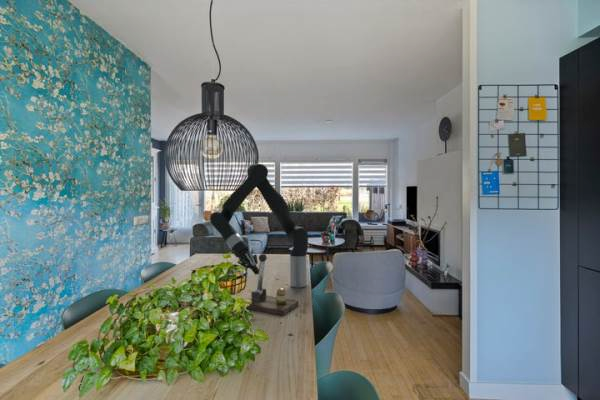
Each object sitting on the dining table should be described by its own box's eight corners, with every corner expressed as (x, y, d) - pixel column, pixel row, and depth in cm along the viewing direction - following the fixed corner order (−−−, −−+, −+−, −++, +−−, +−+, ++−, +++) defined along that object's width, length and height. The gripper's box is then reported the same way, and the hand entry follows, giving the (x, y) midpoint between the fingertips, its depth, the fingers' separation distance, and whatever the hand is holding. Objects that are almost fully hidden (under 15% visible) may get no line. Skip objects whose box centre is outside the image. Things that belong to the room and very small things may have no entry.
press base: (258, 298, 154) (258, 285, 154) (298, 305, 144) (298, 290, 144) (241, 307, 141) (241, 293, 141) (283, 315, 131) (282, 299, 131)
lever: (257, 293, 148) (262, 252, 146) (264, 295, 146) (268, 254, 145) (253, 295, 144) (257, 253, 143) (259, 297, 143) (264, 255, 141)
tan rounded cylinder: (279, 301, 143) (279, 286, 143) (287, 302, 141) (287, 287, 141) (274, 304, 139) (274, 288, 139) (283, 306, 137) (282, 290, 137)
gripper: (232, 241, 144) (254, 271, 138) (250, 238, 155) (270, 265, 150) (223, 252, 146) (244, 281, 141) (241, 248, 158) (261, 275, 152)
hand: (258, 273), depth 145 cm, fingers closed
